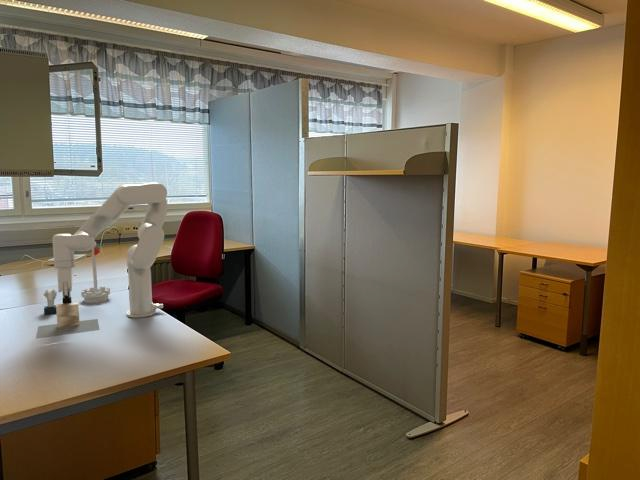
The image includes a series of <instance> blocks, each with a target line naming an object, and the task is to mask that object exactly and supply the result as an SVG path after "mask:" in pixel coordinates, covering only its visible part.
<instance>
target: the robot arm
mask: <svg viewBox="0 0 640 480" xmlns="http://www.w3.org/2000/svg"><path fill="white" fill-rule="evenodd" d="M167 190H168V189H167V187H166V186H165V185H164V184H162V183H161V182H152V181H151V182H147V183H142V184H123V185H119V186H118V187H117V188H116V189H115V190H114V191H113V193H111V194H110V196H109V197H108V198H107V199H106V200H105V201H104V203H102V204H101V205H100V206H99V208H98V209H97V210H96V211H94V213H93V214H92V215H91V216H90V217H89V218H88V219H87V220H86V221H84V223H83V224H82V225H81V226H80V228H79V229H78V230H76V232H74V234H71V233H56V234H54V235H53V236H52V237H51V238H52V253H53V268H54V269H55V270H57V272H56V274H57V276H56V277H57V291H58V293H59V294H61V292H62V299H61V300H62V304H66V303H73V302H72V296H71V292H72V291H73V269H74V268H75V267H76V260H75V259H76V258H75V252H87V251H92V248H93V247H94V245H95V242H96V240H95V239H96V238H97V236H98V235H99V234H100V233H102V232H103V230H105V229H107V228H108V227H109V226H112V225H113V224H115V223H116V222H117V221H118V220H119V218H120V217H121V216H122V215H123V214H124V213H125V212H126V211H127V210H128V208H129V207H130V206H140V205H147V209H146V213H145V215H144V217H143V219H142V220H141V224H140V225H139V228H138V231H137V237H138V239H139V240H138V242H137V244H134V245H131V246H130V247H129V248H128V250H127V251H126V254H125V256H126V266H127V274H128V275H127V277H128V279H127V281H128V297H129V298H128V299H129V302H128V303H129V310H127V311H126V313H125V315H126V317H128V318H133V319H134V318H137V319H138V318H147V317H151V316H153V315H155V314H156V313H157V309H163V308H164V304H163V303H154V302H153V295H152V294H153V293H152V272H151V267H152V266H153V264H154V263H155V261H156V259H157V257H158V255H159V254H160V253H159V252H160V250H161V247H162V246H163V243H164V240H165V231H164V230H163V225H164V223H165V220H166V217H167V215H168V208H169V207H168V200H167V197H168V196H167V195H168V191H167Z"/></svg>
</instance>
